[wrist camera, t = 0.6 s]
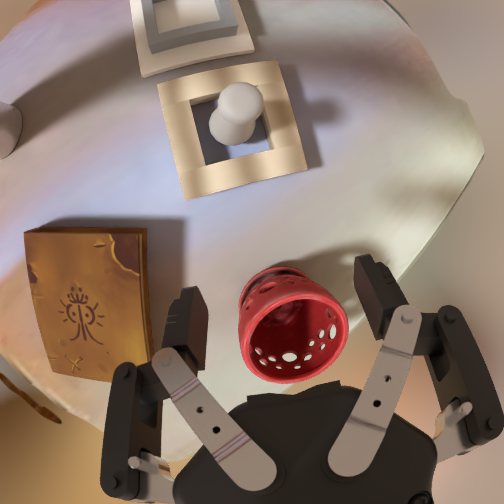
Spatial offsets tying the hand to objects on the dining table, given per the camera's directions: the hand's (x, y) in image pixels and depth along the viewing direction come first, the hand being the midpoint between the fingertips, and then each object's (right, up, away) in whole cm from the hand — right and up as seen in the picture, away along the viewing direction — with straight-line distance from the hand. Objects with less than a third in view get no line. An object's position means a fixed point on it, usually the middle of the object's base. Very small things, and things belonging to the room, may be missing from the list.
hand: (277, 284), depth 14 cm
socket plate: (-11, +36, +15) cm, 41 cm away
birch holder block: (-4, +18, +21) cm, 28 cm away
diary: (-26, -6, +24) cm, 35 cm away
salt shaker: (-4, +18, +21) cm, 28 cm away
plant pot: (+2, -6, +28) cm, 29 cm away
